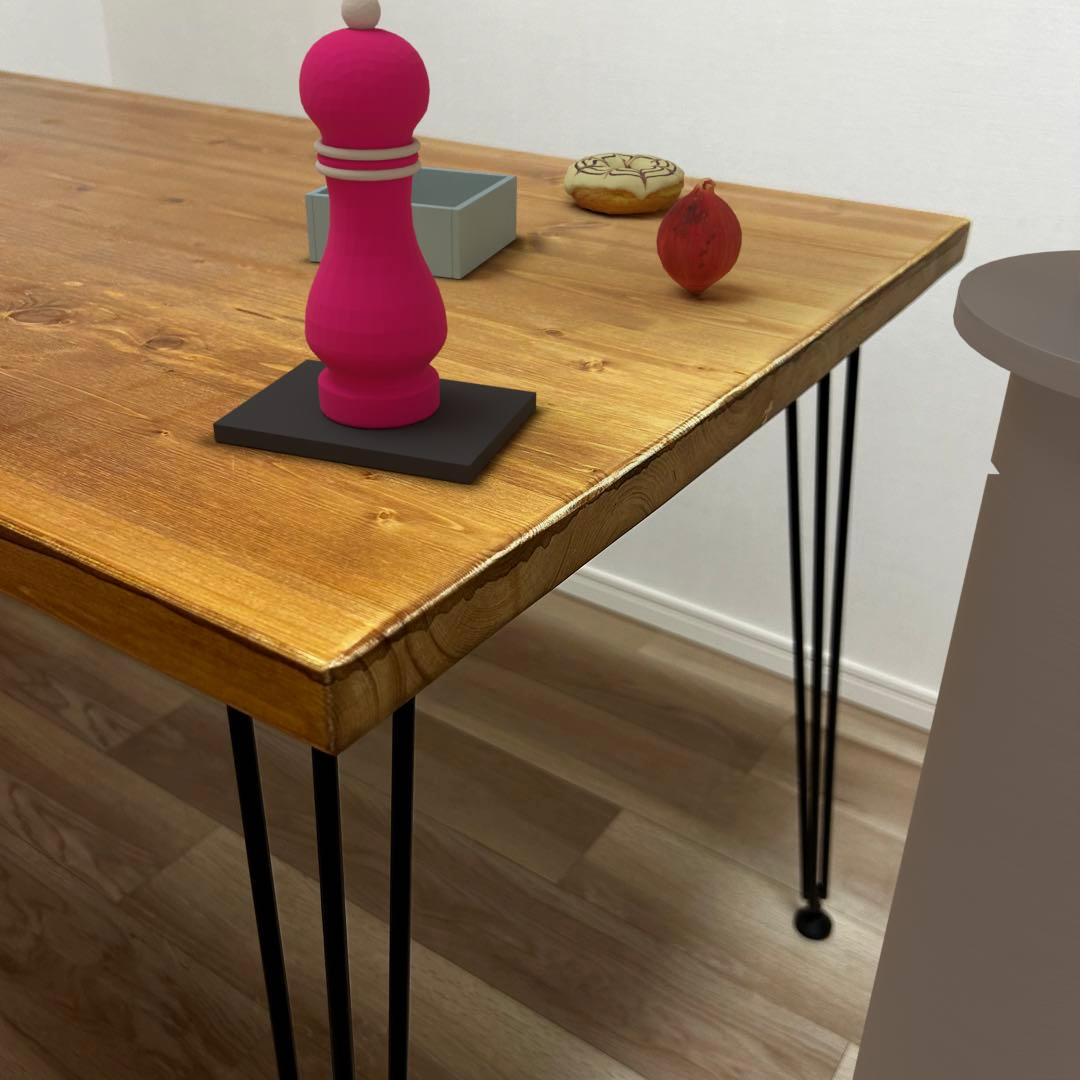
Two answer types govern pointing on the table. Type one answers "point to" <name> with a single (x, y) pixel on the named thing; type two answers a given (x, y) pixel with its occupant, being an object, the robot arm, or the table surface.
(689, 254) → the onion
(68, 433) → the table surface
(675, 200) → the decorated donut
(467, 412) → the mat
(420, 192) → the crate
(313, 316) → the pepper mill
